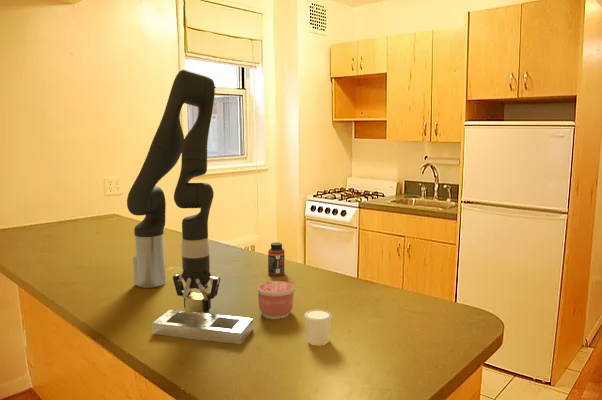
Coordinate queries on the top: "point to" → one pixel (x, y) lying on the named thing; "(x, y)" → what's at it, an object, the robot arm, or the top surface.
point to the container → (275, 299)
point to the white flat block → (203, 326)
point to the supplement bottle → (276, 259)
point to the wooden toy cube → (194, 303)
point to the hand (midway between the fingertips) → (197, 310)
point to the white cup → (318, 326)
